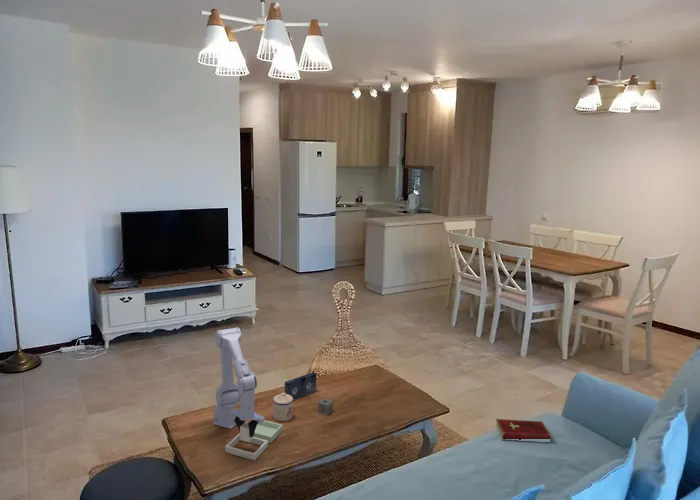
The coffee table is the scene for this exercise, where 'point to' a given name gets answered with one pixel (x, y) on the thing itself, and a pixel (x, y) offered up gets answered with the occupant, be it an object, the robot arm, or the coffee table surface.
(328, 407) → the dice cube
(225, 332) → the robot arm
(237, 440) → the bin
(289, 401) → the teacup with lid
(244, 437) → the cream block
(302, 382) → the vhs cassette tape
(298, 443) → the coffee table surface
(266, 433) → the green bin
